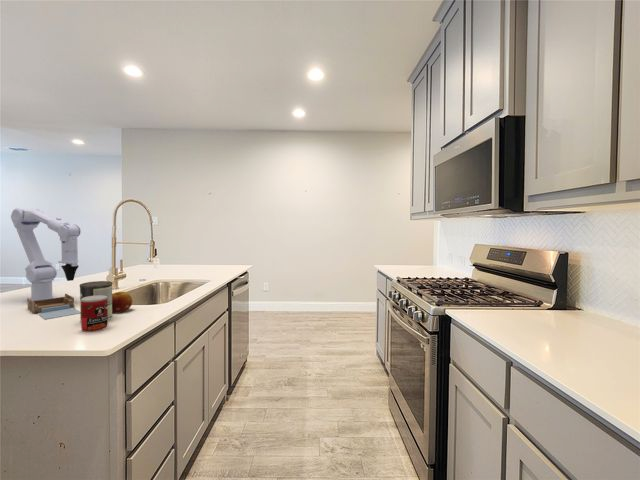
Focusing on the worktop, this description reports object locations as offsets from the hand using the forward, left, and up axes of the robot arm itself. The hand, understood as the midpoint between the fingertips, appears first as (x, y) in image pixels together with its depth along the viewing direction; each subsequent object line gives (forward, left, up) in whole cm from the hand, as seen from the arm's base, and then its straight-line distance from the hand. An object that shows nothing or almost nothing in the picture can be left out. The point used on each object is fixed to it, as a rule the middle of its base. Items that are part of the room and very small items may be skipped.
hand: (70, 280), depth 143 cm
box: (+5, -8, -10) cm, 14 cm away
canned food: (+48, -5, -11) cm, 49 cm away
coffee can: (+37, -1, -11) cm, 39 cm away
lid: (+17, -8, -11) cm, 22 cm away
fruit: (+31, +9, -11) cm, 34 cm away
